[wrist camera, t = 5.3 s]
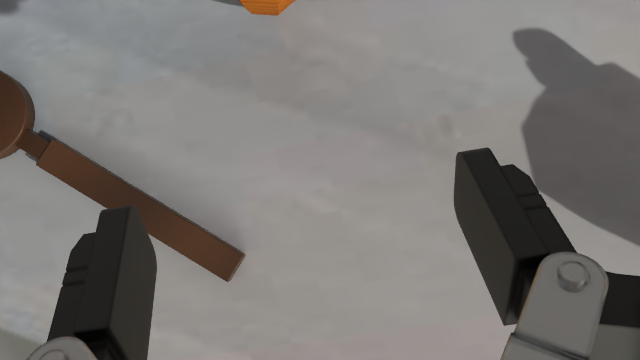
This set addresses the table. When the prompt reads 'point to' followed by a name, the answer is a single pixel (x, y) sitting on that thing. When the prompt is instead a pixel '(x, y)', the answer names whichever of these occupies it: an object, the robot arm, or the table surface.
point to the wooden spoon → (107, 185)
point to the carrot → (266, 6)
